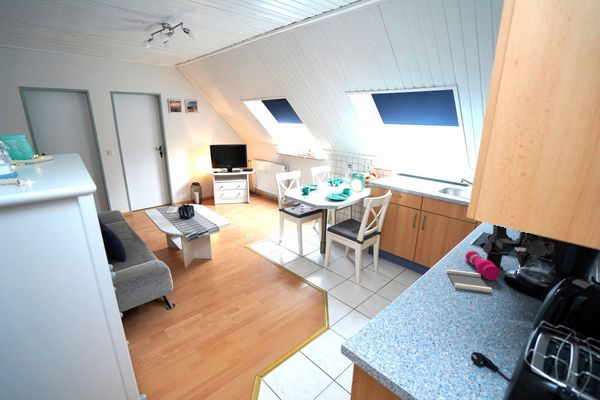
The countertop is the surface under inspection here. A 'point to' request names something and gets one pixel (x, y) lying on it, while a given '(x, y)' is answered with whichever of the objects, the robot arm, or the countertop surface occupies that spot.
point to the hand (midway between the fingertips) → (521, 266)
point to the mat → (468, 281)
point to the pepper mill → (483, 265)
